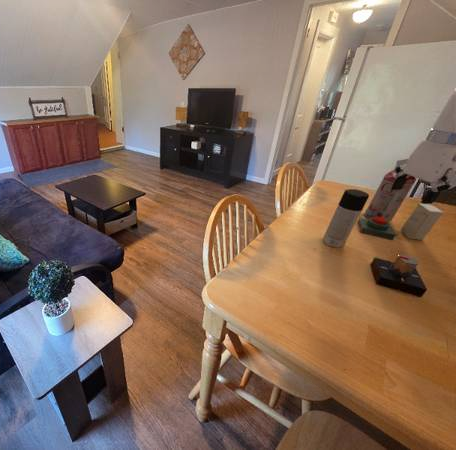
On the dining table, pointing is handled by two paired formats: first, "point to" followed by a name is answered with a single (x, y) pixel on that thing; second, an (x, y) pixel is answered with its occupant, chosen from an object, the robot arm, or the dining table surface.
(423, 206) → the cosmetic box
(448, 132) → the robot arm
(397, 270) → the hob knob
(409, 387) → the dining table surface
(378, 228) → the button box
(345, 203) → the spray can
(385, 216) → the juice carton
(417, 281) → the hob panel
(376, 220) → the button
